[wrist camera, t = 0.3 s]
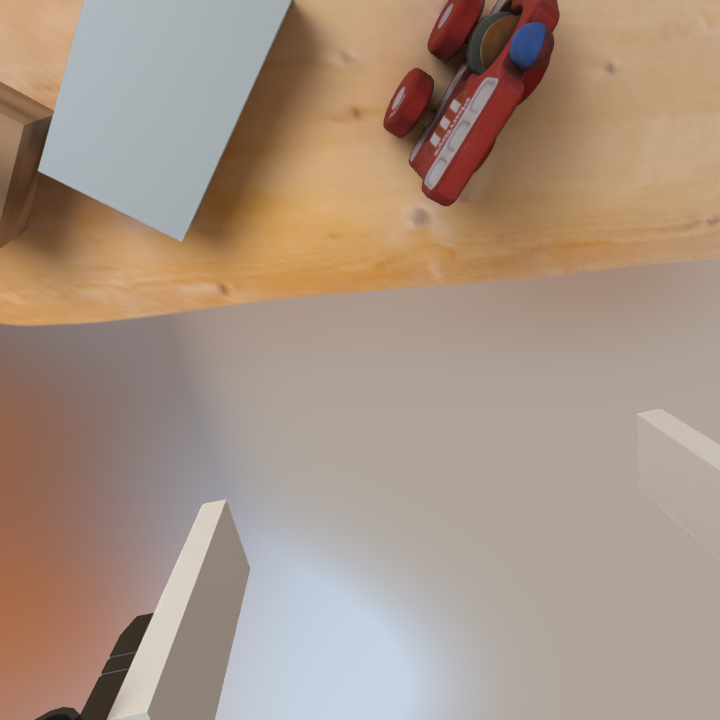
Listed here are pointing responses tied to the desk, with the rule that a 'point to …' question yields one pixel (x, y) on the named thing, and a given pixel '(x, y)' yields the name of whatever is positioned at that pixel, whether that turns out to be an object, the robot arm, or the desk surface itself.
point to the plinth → (156, 101)
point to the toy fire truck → (472, 88)
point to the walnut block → (19, 158)
